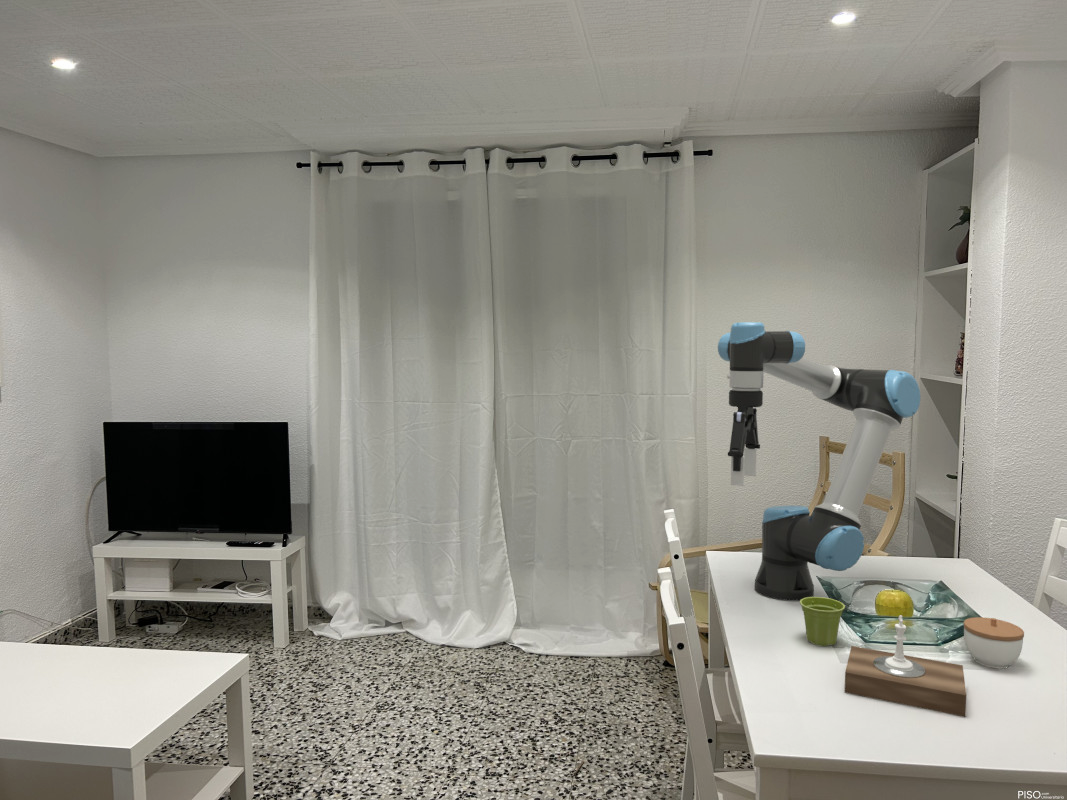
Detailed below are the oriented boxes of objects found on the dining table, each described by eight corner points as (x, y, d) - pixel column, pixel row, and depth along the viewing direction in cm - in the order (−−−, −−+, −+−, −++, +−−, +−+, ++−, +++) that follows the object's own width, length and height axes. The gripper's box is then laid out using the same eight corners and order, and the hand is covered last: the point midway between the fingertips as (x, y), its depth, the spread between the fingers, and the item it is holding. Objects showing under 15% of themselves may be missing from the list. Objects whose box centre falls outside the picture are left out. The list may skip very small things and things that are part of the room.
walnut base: (850, 664, 154) (851, 644, 154) (961, 685, 145) (962, 663, 145) (844, 692, 142) (845, 670, 142) (965, 716, 133) (966, 693, 132)
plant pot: (795, 644, 164) (796, 606, 164) (802, 630, 173) (803, 594, 172) (841, 653, 160) (842, 613, 159) (845, 637, 168) (846, 600, 168)
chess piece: (909, 662, 145) (911, 612, 145) (916, 673, 141) (918, 621, 140) (882, 659, 147) (884, 610, 146) (887, 670, 142) (889, 619, 141)
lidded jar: (950, 656, 159) (952, 613, 158) (986, 648, 162) (988, 607, 162) (997, 677, 149) (999, 631, 148) (1034, 668, 152) (1037, 624, 152)
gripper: (741, 386, 184) (739, 470, 186) (716, 391, 162) (714, 487, 164) (772, 387, 181) (770, 473, 182) (751, 393, 159) (749, 491, 160)
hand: (743, 480), depth 173 cm, fingers open, 13 cm apart
